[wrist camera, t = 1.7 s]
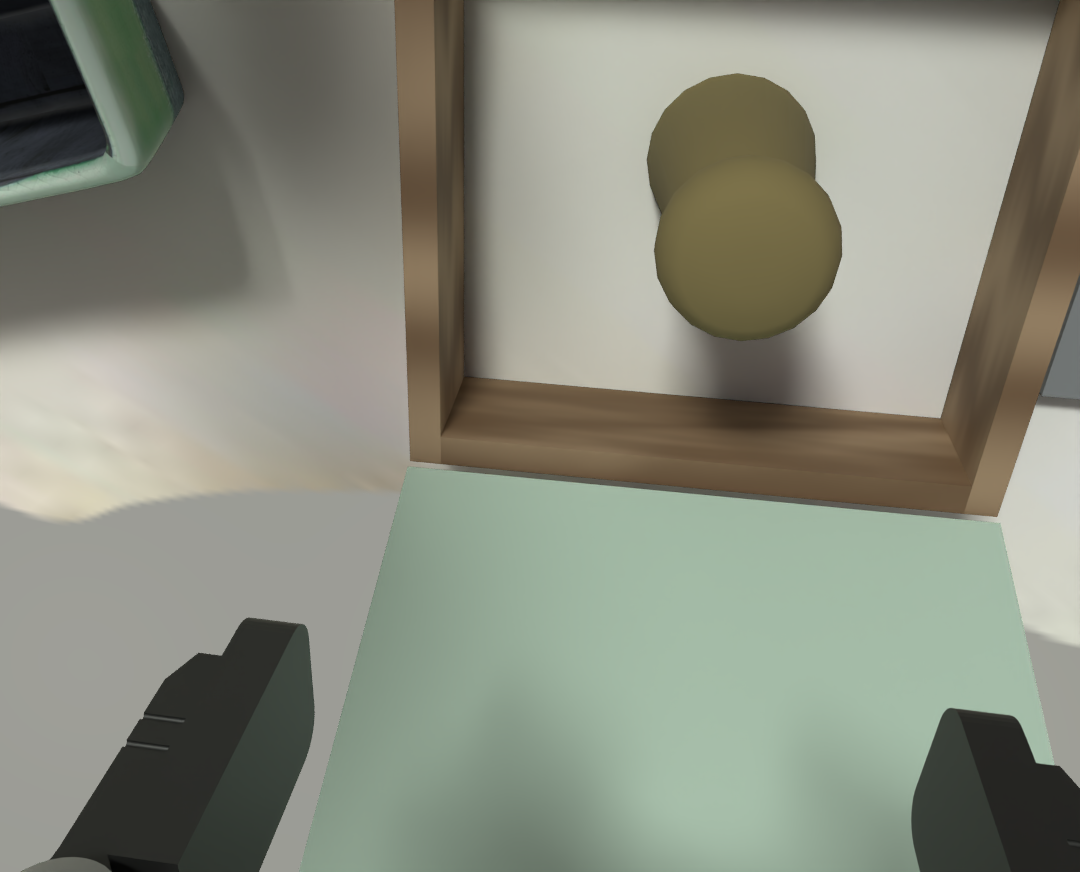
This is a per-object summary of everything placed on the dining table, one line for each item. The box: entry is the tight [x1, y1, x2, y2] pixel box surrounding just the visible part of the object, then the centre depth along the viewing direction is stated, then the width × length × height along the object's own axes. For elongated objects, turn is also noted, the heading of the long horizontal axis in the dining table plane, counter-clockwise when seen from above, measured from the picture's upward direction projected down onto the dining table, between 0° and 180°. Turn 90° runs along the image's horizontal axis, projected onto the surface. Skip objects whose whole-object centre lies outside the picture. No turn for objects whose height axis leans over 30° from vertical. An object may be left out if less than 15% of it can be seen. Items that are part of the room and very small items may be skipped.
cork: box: [647, 73, 842, 341], centre depth 31 cm, size 6×6×11 cm
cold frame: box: [394, 0, 1080, 517], centre depth 34 cm, size 22×22×5 cm
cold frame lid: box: [299, 467, 1054, 872], centre depth 30 cm, size 22×22×1 cm
